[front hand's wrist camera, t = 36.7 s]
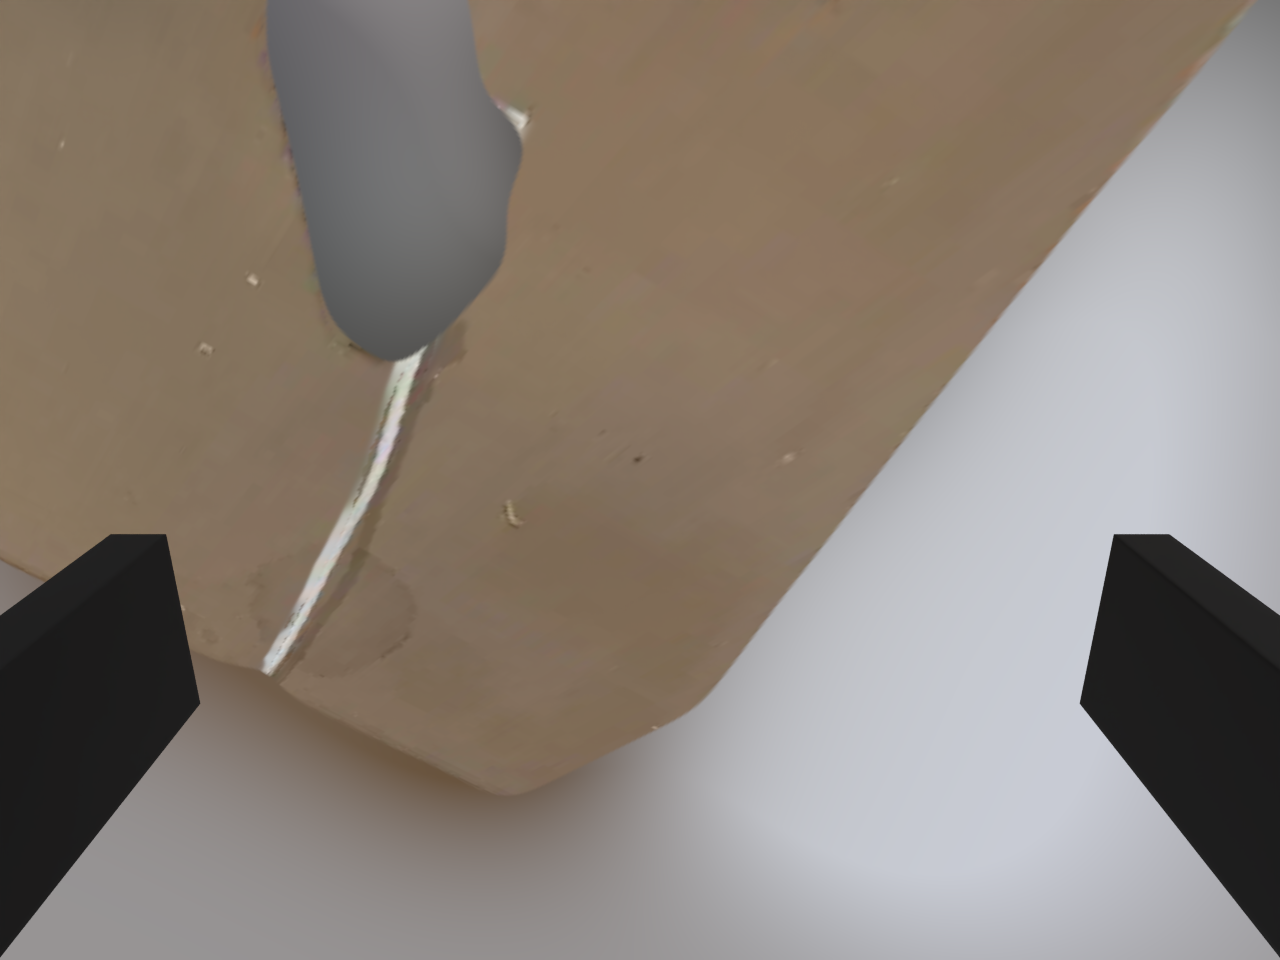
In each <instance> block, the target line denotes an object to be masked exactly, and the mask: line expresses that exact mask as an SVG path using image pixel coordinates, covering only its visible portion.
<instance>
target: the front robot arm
mask: <svg viewBox="0 0 1280 960" xmlns="http://www.w3.org/2000/svg"><path fill="white" fill-rule="evenodd" d="M199 704H200V700H199V695H198V690H197V685H196V680H195V675H194V670H193V666H192V660H191V655H190V650H189V645H188V640H187V635H186V631H185V626H184V621H183V616H182V611H181V606H180V601H179V596H178V591H177V586H176V581H175V576H174V571H173V566H172V561H171V556H170V551H169V546H168V541H167V536H166V534H111V535H109V536H108V537H106V538H105V539H104V540H102V541H101V542H100V543H98V544H97V545H96V546H94V547H93V548H91V549H90V550H89V551H87V552H86V553H85V554H83V555H82V556H81V557H79V558H78V559H77V560H75V561H74V562H72V563H71V564H70V565H68V566H67V567H66V568H64V569H63V570H62V571H60V572H59V573H57V574H56V575H55V576H53V577H52V578H51V579H49V580H48V581H47V582H45V583H44V584H43V585H41V586H40V587H38V588H37V589H36V590H34V591H33V592H32V593H30V594H29V595H28V596H26V597H25V598H23V599H22V600H21V601H19V602H18V603H17V604H15V605H14V606H13V607H11V608H10V609H8V610H7V611H6V612H4V613H3V614H2V615H0V957H1V956H2V954H3V953H4V952H5V951H6V949H7V948H8V947H9V945H10V944H11V943H12V942H13V940H14V939H15V938H16V937H17V935H18V934H19V933H20V932H21V930H22V929H23V928H24V927H25V925H26V924H27V923H28V921H29V920H30V919H31V918H32V916H33V915H34V914H35V913H36V911H37V910H38V909H39V907H40V906H41V905H42V904H43V902H44V901H45V900H46V899H47V897H48V896H49V895H50V894H51V892H52V891H53V890H54V888H55V887H56V886H57V885H58V883H59V882H60V881H61V879H62V878H63V877H64V876H65V874H66V873H67V872H68V871H69V869H70V868H71V867H72V866H73V864H74V863H75V862H76V861H77V859H78V858H79V857H80V855H81V854H82V853H83V852H84V850H85V849H86V848H87V847H88V845H89V844H90V843H91V841H92V840H93V839H94V838H95V836H96V835H97V834H98V833H99V831H100V830H101V829H102V828H103V826H104V825H105V824H106V822H107V821H108V820H109V819H110V817H111V816H112V815H113V814H114V812H115V811H116V810H117V809H118V807H119V806H120V805H121V803H122V802H123V801H124V800H125V798H126V797H127V796H128V795H129V793H130V792H131V791H132V789H133V788H134V787H135V786H136V784H137V783H138V782H139V781H140V779H141V778H142V777H143V776H144V774H145V773H146V772H147V770H148V769H149V768H150V767H151V765H152V764H153V763H154V761H155V760H156V759H157V758H158V756H159V755H160V754H161V753H162V751H163V750H164V749H165V748H166V746H167V745H168V744H169V743H170V741H171V740H172V739H173V737H174V736H175V735H176V734H177V732H178V731H179V730H180V729H181V727H182V726H183V725H184V723H185V722H186V721H187V720H188V718H189V717H190V716H191V715H192V713H193V712H194V711H195V710H196V708H197V707H198V706H199ZM1080 704H1081V706H1082V707H1083V708H1084V710H1085V711H1086V712H1087V713H1088V714H1089V716H1090V717H1091V718H1092V720H1093V721H1094V722H1095V723H1096V725H1097V726H1098V727H1099V729H1100V730H1101V731H1102V732H1103V734H1104V735H1105V736H1106V737H1107V739H1108V740H1109V741H1110V742H1111V744H1112V745H1113V746H1114V748H1115V749H1116V750H1117V751H1118V753H1119V754H1120V755H1121V756H1122V758H1123V759H1124V760H1125V761H1126V763H1127V764H1128V765H1129V767H1130V768H1131V769H1132V770H1133V772H1134V773H1135V774H1136V775H1137V777H1138V778H1139V779H1140V781H1141V782H1142V783H1143V784H1144V786H1145V787H1146V788H1147V789H1148V791H1149V792H1150V793H1151V795H1152V796H1153V797H1154V798H1155V800H1156V801H1157V802H1158V803H1159V805H1160V806H1161V807H1162V808H1163V810H1164V811H1165V812H1166V814H1167V815H1168V816H1169V817H1170V819H1171V820H1172V821H1173V822H1174V824H1175V825H1176V826H1177V828H1178V829H1179V830H1180V831H1181V833H1182V834H1183V835H1184V836H1185V838H1186V839H1187V840H1188V841H1189V843H1190V844H1191V845H1192V847H1193V848H1194V849H1195V850H1196V852H1197V853H1198V854H1199V855H1200V857H1201V858H1202V859H1203V861H1204V862H1205V863H1206V864H1207V866H1208V867H1209V868H1210V869H1211V871H1212V872H1213V873H1214V874H1215V876H1216V877H1217V878H1218V880H1219V881H1220V882H1221V883H1222V885H1223V886H1224V887H1225V888H1226V890H1227V891H1228V892H1229V894H1230V895H1231V896H1232V897H1233V899H1234V900H1235V901H1236V902H1237V904H1238V905H1239V906H1240V907H1241V909H1242V910H1243V911H1244V913H1245V914H1246V915H1247V916H1248V918H1249V919H1250V920H1251V921H1252V923H1253V924H1254V925H1255V927H1256V928H1257V929H1258V930H1259V932H1260V933H1261V934H1262V935H1263V937H1264V938H1265V939H1266V940H1267V942H1268V943H1269V944H1270V945H1271V947H1272V948H1273V949H1274V951H1275V952H1276V953H1277V954H1278V956H1279V957H1280V615H1278V614H1277V613H1276V612H1274V611H1273V610H1271V609H1270V608H1269V607H1267V606H1266V605H1265V604H1263V603H1262V602H1261V601H1259V600H1258V599H1257V598H1255V597H1254V596H1252V595H1251V594H1250V593H1248V592H1247V591H1246V590H1244V589H1243V588H1242V587H1240V586H1239V585H1237V584H1236V583H1235V582H1233V581H1232V580H1231V579H1229V578H1228V577H1227V576H1225V575H1224V574H1223V573H1221V572H1220V571H1218V570H1217V569H1216V568H1214V567H1213V566H1212V565H1210V564H1209V563H1208V562H1206V561H1205V560H1203V559H1202V558H1201V557H1199V556H1198V555H1197V554H1195V553H1194V552H1193V551H1191V550H1190V549H1189V548H1187V547H1186V546H1184V545H1183V544H1182V543H1180V542H1179V541H1178V540H1176V539H1175V538H1174V537H1172V536H1171V535H1169V534H1114V536H1113V541H1112V546H1111V551H1110V556H1109V561H1108V566H1107V571H1106V576H1105V581H1104V586H1103V591H1102V596H1101V601H1100V606H1099V611H1098V616H1097V621H1096V626H1095V631H1094V635H1093V640H1092V646H1091V650H1090V655H1089V660H1088V665H1087V670H1086V675H1085V680H1084V685H1083V690H1082V695H1081V700H1080Z"/></svg>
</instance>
